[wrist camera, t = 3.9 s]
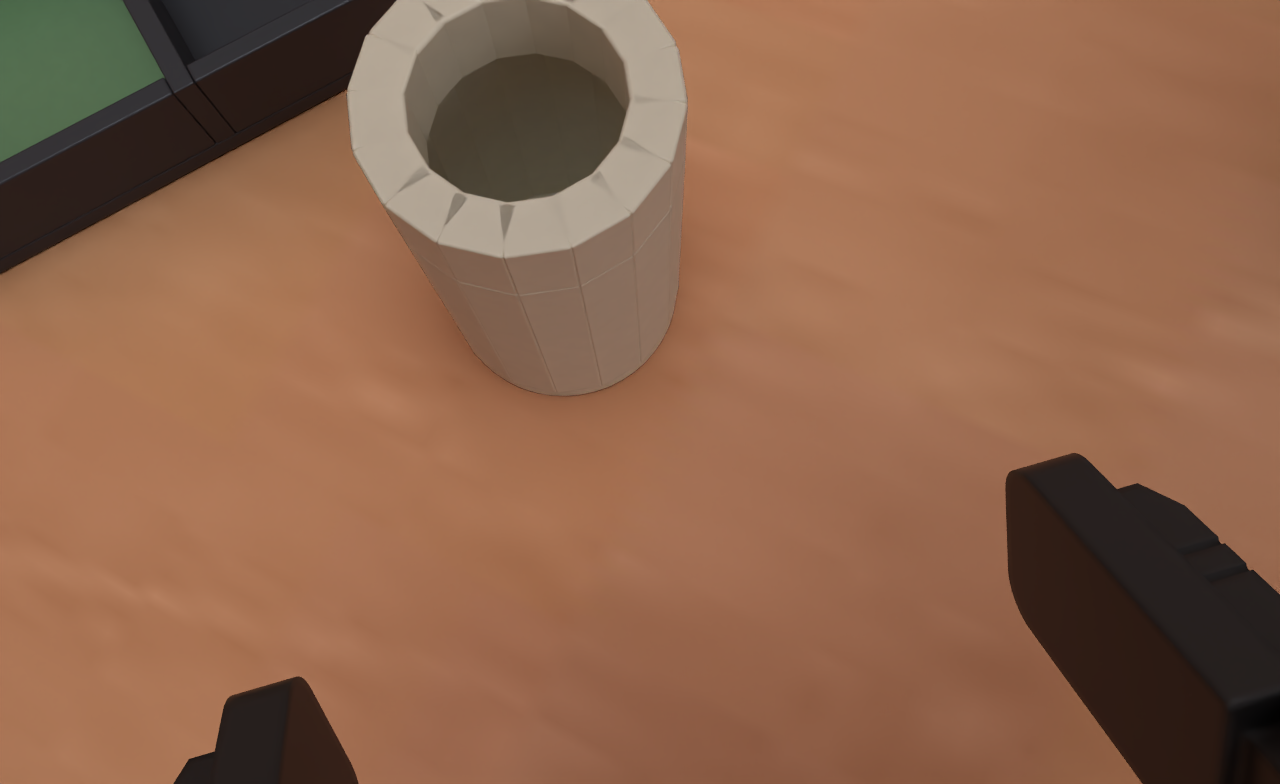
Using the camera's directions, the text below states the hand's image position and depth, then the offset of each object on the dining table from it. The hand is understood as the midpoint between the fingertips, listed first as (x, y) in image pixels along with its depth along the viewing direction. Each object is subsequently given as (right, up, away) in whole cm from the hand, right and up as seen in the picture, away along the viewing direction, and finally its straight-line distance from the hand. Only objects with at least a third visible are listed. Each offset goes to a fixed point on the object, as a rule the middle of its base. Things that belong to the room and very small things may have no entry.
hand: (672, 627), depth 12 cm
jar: (-2, +5, +17) cm, 18 cm away
